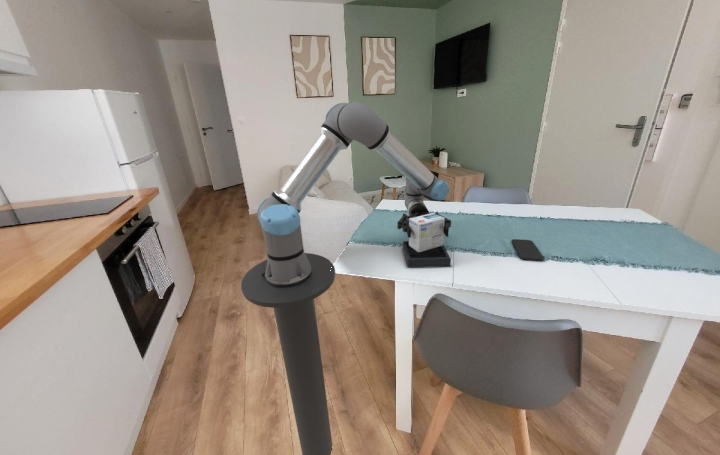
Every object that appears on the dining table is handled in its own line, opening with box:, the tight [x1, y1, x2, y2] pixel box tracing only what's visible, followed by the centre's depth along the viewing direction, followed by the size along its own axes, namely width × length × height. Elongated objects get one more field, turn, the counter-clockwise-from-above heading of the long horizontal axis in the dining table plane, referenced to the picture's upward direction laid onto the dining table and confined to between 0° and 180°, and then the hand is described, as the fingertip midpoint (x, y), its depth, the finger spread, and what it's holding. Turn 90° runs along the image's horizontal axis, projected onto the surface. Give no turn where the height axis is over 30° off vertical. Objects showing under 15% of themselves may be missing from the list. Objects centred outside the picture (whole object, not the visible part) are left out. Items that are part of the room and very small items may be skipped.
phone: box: [511, 238, 545, 262], centre depth 106 cm, size 7×1×15 cm
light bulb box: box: [408, 212, 446, 252], centre depth 101 cm, size 11×7×11 cm, turn 115°
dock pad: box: [402, 240, 452, 268], centre depth 105 cm, size 14×14×3 cm
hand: (428, 233), depth 98 cm, fingers closed on light bulb box, 12 cm apart
